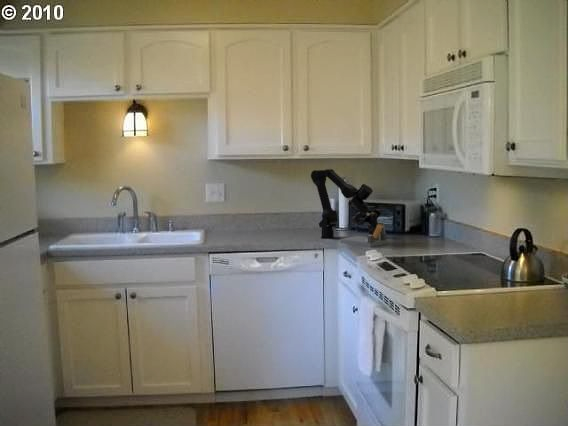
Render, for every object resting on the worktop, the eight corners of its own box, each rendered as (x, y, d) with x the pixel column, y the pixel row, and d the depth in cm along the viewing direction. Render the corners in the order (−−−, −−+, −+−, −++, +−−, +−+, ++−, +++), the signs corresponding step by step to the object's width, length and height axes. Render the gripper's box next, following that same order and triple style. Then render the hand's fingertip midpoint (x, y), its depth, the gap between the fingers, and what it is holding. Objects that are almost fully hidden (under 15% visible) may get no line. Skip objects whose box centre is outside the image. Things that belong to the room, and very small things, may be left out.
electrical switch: (385, 237, 319) (385, 221, 317) (382, 239, 315) (381, 223, 313) (370, 236, 324) (370, 220, 322) (366, 238, 320) (366, 222, 318)
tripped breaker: (370, 239, 295) (376, 224, 291) (374, 238, 298) (381, 223, 294) (372, 241, 294) (379, 226, 290) (377, 240, 297) (383, 226, 293)
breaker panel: (340, 242, 303) (340, 232, 302) (357, 239, 313) (357, 229, 313) (370, 247, 289) (370, 236, 288) (387, 243, 299) (387, 233, 299)
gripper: (362, 214, 312) (379, 235, 305) (341, 217, 299) (357, 239, 292) (374, 200, 305) (391, 222, 298) (352, 203, 292) (369, 226, 285)
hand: (377, 228), depth 294 cm, fingers closed, pressing on tripped breaker
